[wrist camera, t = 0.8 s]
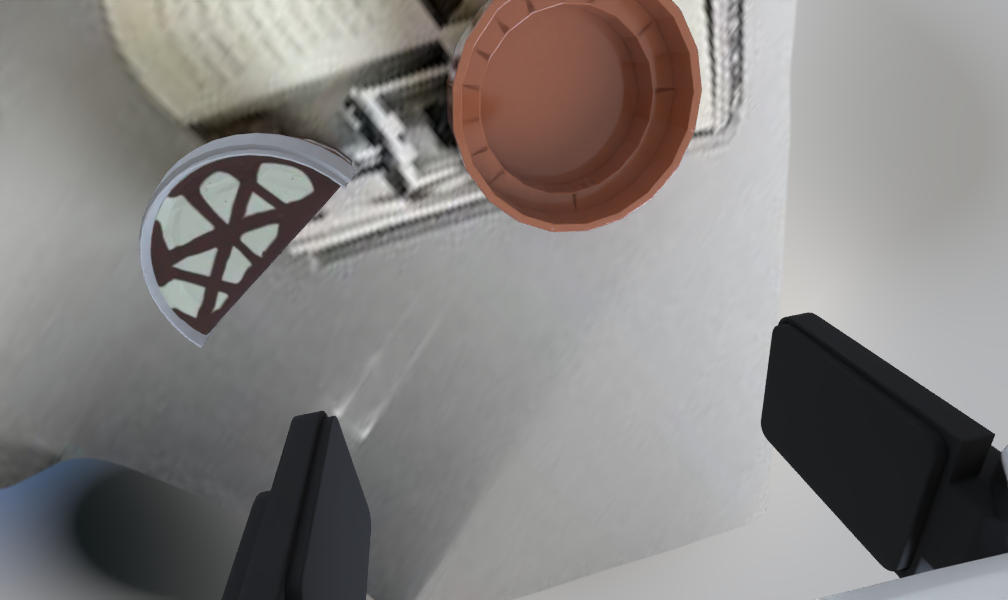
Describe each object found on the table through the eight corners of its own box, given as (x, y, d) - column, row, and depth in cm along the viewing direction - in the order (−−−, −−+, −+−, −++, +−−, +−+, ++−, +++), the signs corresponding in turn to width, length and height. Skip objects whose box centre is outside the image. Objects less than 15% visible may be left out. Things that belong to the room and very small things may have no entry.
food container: (284, 67, 30) (233, 75, 22) (368, 143, 33) (353, 178, 24) (160, 217, 33) (69, 280, 24) (248, 277, 35) (194, 355, 27)
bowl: (399, 70, 32) (397, 75, 27) (593, -83, 30) (630, -109, 25) (525, 245, 38) (542, 274, 33) (692, 126, 36) (737, 139, 31)
